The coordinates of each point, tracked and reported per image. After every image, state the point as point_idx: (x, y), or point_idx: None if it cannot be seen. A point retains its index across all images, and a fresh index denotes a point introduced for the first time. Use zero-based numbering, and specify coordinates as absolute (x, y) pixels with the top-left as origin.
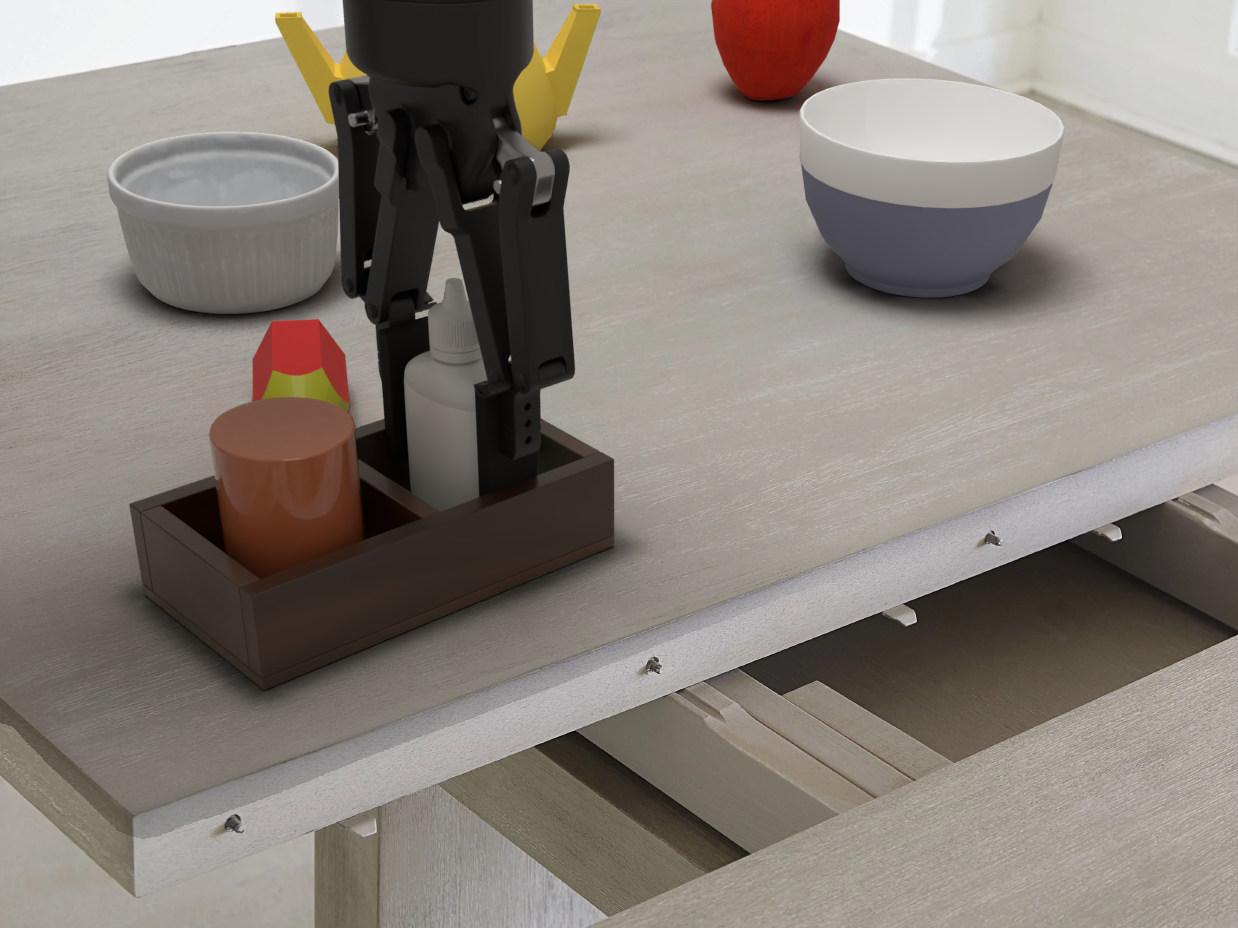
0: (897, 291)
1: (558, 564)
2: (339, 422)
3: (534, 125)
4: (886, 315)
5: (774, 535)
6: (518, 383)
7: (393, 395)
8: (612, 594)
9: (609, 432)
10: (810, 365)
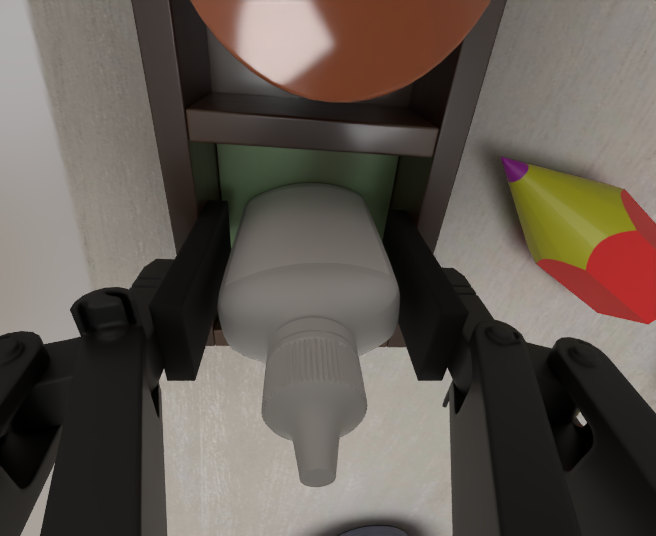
0: (356, 530)
1: None
2: (276, 45)
3: None
4: (344, 517)
5: None
6: (7, 342)
7: (410, 255)
8: (142, 238)
9: None
10: None
